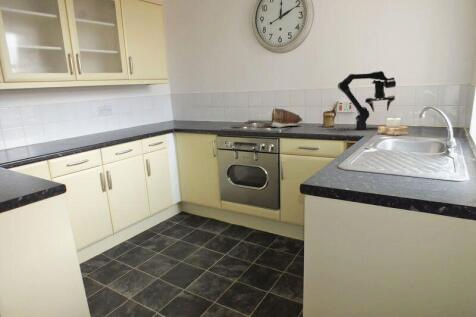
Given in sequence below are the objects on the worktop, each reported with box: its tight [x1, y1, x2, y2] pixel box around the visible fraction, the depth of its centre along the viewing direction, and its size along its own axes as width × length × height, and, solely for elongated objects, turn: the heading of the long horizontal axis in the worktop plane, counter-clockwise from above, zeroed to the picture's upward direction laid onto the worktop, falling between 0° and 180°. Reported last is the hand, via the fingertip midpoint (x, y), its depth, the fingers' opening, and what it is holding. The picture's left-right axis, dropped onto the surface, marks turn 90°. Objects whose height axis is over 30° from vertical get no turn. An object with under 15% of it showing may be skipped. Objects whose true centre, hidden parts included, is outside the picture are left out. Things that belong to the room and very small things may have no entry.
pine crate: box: [377, 125, 409, 137], centre depth 211 cm, size 13×13×4 cm
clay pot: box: [270, 107, 304, 129], centre depth 260 cm, size 15×15×25 cm
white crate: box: [385, 117, 402, 129], centre depth 211 cm, size 6×6×9 cm
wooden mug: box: [322, 101, 339, 128], centre depth 250 cm, size 9×14×18 cm, turn 84°
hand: (380, 111), depth 230 cm, fingers open, 9 cm apart
